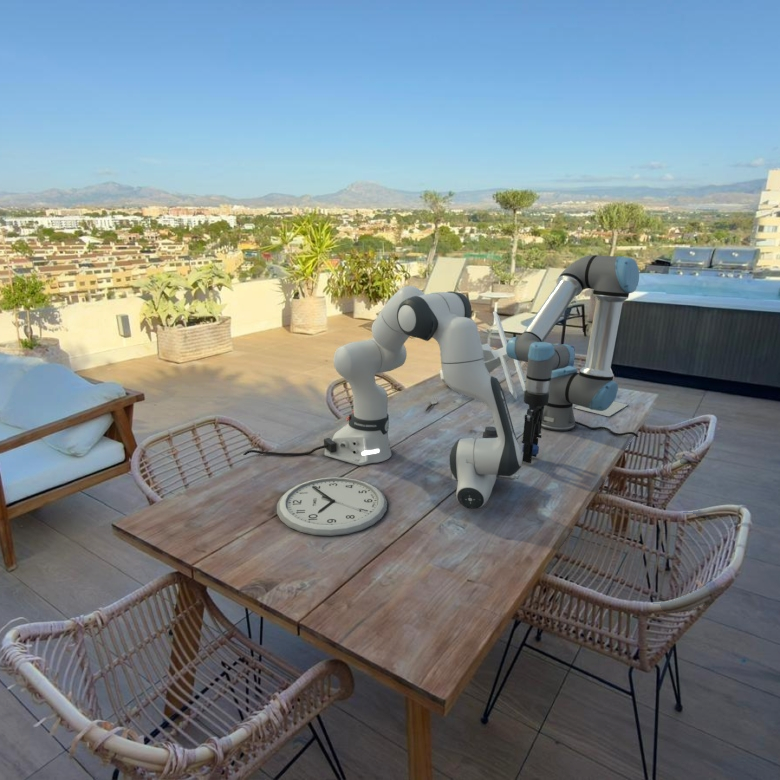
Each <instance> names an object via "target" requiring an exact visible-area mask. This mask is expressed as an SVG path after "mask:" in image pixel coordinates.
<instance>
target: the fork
mask: <svg viewBox="0 0 780 780" xmlns="http://www.w3.org/2000/svg"><path fill="white" fill-rule="evenodd" d="M438 401H439V398H438V397H435V396H433V398H432V399H431V401H430V404H429V405H428V406H427V408H426V409H425V412H427V411H428V410H429V409H431V408H432V406H433V405H437V404H438Z"/></svg>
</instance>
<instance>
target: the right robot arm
mask: <svg viewBox="0 0 780 780" xmlns="http://www.w3.org/2000/svg"><path fill="white" fill-rule="evenodd" d="M639 282H640V269H639V265H638V262H637V261H636V260H635V259H634V258H632V257H627V256H622V255H621V256H620V255H619V256H616V255H598V254H590V255H585V256H583V257H580V258H578V259H577V260H575V261H573V262H572V263H571V264H570V265H569V266H567V267H566V268H564V270H562V272H561V273H560V275H559V276H558V278H557V279H556V284H555V287H554V288H553V290H552V291H551V292H550V294H549V295H548V297H547V298H546V299H545V301H544V302H543V304H542V305H541V307H540V308H539V310H538V311H537V312H536V314H535V315H534V317H533V318H532V320H531V321H530V322H529V324H528V325H527V327H526V328H525V330H524V332H522V333H521V335H520V336H513V337H510V339H509V340H508V341H507V346H506V353H507V355H508V356H509V357H510V358H513V359H515V360H518V361H519V362H524V363H527V367H526V376H525V380H524V382H526V385H525V389H526V391H525V393H524V392H523V393H524V394H523V402H524V403H525V404H526V405H528V408H527V409H526V414H524V423H523V424H524V426H523V432H522V440H521V444H522V445H523V444H524V450H523V451H522V463H526V464H532V459H533V457H534V458H537V456H538V454H536V455H532V451H533V444H535V445H538V446H539V439H541V438H542V434H541V433H542V429H544V430H549V431H556V432H567V431H572V430H574V429H575V428H576V425H579V426H581V427H584V428H586V429H589V430H606V431H608V432H609V433H610V434H612V435H614V436H621V437H622V436H627V435H633V436H634V437H636V438H639V435H638V434H637V433H635V432H633V431H627V432H626V431H625V432H615V431H613V430H611V428H609V427H606V426H596V427H593V426H590V425H587V424H584V423H582V422H579V421H576V418H575V417H576V416H575V413H574V407H573V405H575V406H578V405H579V406H583V407H586V408H590V409H591V410H598V411H604V410H606V409H607V408H609V407H610V405H611V404H612V403H613V401H614V402H615V399H616V397H617V395H618V391H619V386H618V385H619V384H618V382H616V381H615V380H614V373H613V372H612V370H611V367H612V361H613V356H614V352H615V345H616V340H617V334H618V331H619V324H620V319H621V313H622V309H623V304H624V302H625V301H627V300H628V299H629V297H630V294H632V293H634V292H636V290H637V288H638V286H639ZM586 289H589V290H592V291H593V292H592V296H593V297H594V298H595V306H594V312H593V318H592V323H591V328H590V329H591V330H590V335H589V341H588V347H587V352H586V356H585V357H586V358H585V363H584V366H583V367H582V368H580V369H579V371H578V368H577V367H576V366H573V367H572V366H569V365H571V364H572V363H573V362H574V363H575V359H576V351H575V352H574V350H573V348H572V347H571V346H572V345H570V344H566V343H563V344H562V343H558V344H559V345H553V344H554V343H551V342H547V341H546V339H547V338H548V336H549V335H550V334H551V332H552V330H553V329H554V328H555V326H556V324H557V323H558V322H559V320H560V319H561V317H562V316H563V314H564V313H565V311H566V310H567V309H568V307H569V306H570V304H571V303H572V301H573V300H574V298H575V297H578V296H579V295H580V294H582V292H583V291H584V290H586ZM513 359H512V360H513Z"/></svg>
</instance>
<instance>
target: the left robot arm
mask: <svg viewBox="0 0 780 780" xmlns="http://www.w3.org/2000/svg"><path fill="white" fill-rule="evenodd" d="M471 317H472V305H471V302H470V300H469V298H468V297H467V296H466V295H465V294H464V293H461V292H458V291H446V292H445V291H437V292H431V293H426V294H425V293H424V292H423V291H422V290H421V289H420V288H419V287H416V286H414V285H406V286H403V287H401V288H400V289H399V290H397V291H396V292H395V293H394V294H393V295H392V296H391V297H390V298H389V299H388V301H387V302H386V304H385V305H384V306H383V308H382V309H381V311H380V312H379V314H378V315H377V316H376V318H375V319H374V321H373V322H372V325H371V335H372V338H370V339H366V340H358V341H353V342H349V343H346V344H344V345H341V346H339V347H338V348H336V350H335V352H334V353H333V360H332V361H333V366H334V369H335V372H337V373H338V375H339V376H340V377H342V378H343V379H345V380H346V382H347V383H348V384H349V386H350V389H351V392H352V401H353V403H352V404H353V410H352V411H351V413H350V414H349V415H348V416H347V417H346V422H348V423H346V424H345V425H343V427H341V428H339V429H338V430H337V431H336V432H335V433H334V434H333V436H332V439H331V438H330V437H326V438H323V445H320V446H317V447H315V448H313V449H311V450H310V451H306V452H305V451H304V452H277V451H264V450H258V449H249V450H247V451H245V452H243V454H242V455H243V456H247V455H248V454H250V453H255V454H261V455H275V456H295V457H296V456H297V457H298V456H307V455H310V454H313V453H315V452H316V451H318V450H321V449H324V456H325V457H329V458H332V459H335V460H338V461H342V462H346V463H348V464H353V465H357V466H365V465H369V464H377V463H381V462H385V461H387V460H390V458H391V457H392V455H393V453H392V450H391V446H390V440H389V430H390V417H389V414H388V413H389V412H388V407H389V406H388V401H389V400H388V397H389V395H388V392H387V390H386V389H385V388H384V387H383V386H382V385H380V384H378V383H377V381H376V375H377V374H382V373H387V372H391V371H394V370H396V369H398V368H400V367H402V366H403V365H404V364H405V363H406V361H407V356H408V355H407V353H408V352H407V348H406V346H405V343H406V342H407V340H408V339H409V338H410V337H412V338H417V339H419V340H423V341H425V342H429V341H430V340H432V339H434V340H435V341H436V342H437V344H438V346H439V354H440V355H439V356H440V364H441V366H440V367H441V369H442V373H443V377H444V380H445V382H446V384H447V385H446V386H447V387H448V388H450V389H451V390H452V391H454V392H455V393H456V394H460V395H462V396H464V397H468V398H470V399H475V400H477V401H479V402H481V403H483V404H485V405H486V406H487V408H488V409H489V410H490V413H491V417H492V420H493V424H494V427H495V428H496V431H497V435H498V437H497V438H483V437H463V438H458V439H457V441H456V442H455V443H454V444H453V445H452V447H451V449H450V452H449V453H450V454H449V467H450V471H451V472H450V473H451V479H452V480H454V481H457V486H456V493H455V494H456V500H457V502H458V503H459V505H461V506H462V507H463V508H466V509H469V510H478V509H481V508H482V507H484V506H485V505H486V503H487V502H488V501H489V498H490V496H491V495H492V492H493V488H494V486H495V484H496V481H497V479H498V480H503V481H510V482H513V481H516V480H518V479H519V478H520V476H521V475H520V474H521V469H522V466H523V465H522V464H523V461H522V460H523V451H522V449H521V446H520V444H519V441H518V438H517V435H516V432H515V429H514V426H513V422H512V418H511V415H510V412H509V407H508V404H507V401H506V396H505V394H504V391H503V387H502V385H501V383H500V381H499V379H498V378H496V377H495V376H492V374H490V373H491V372H490V373H489V372H488V370H487V368H486V366H485V363H484V356H483V349H482V345H483V343H482V339H481V334H480V331H479V328H478V325H477V323H476V322H475V321H474V320H473V319H472V318H471Z"/></svg>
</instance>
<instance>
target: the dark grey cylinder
mask: <svg viewBox="0 0 780 780" xmlns="http://www.w3.org/2000/svg"><path fill="white" fill-rule="evenodd" d="M497 437H498V435H497V431H496V428H495V426H486V427H484V431H483V432H482V438H497Z"/></svg>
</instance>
